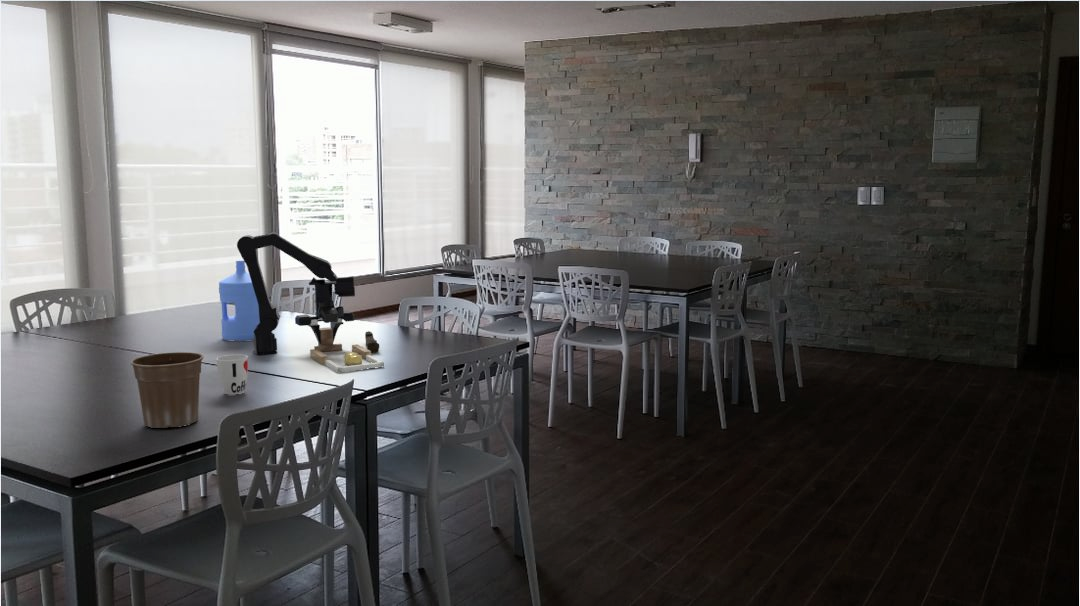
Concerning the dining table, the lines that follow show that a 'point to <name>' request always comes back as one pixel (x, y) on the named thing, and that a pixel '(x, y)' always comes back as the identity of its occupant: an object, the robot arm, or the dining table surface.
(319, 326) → the robot arm
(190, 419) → the plant pot
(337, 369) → the white tray
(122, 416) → the dining table surface
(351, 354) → the puck
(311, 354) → the wooden blocks
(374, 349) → the hand tool
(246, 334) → the water jug
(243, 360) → the cup
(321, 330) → the brown t-shaped block
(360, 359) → the puck
